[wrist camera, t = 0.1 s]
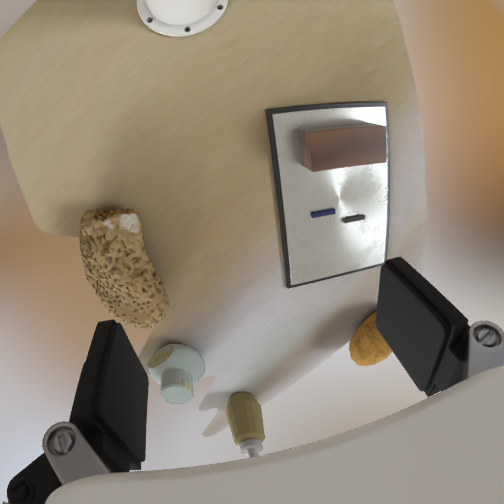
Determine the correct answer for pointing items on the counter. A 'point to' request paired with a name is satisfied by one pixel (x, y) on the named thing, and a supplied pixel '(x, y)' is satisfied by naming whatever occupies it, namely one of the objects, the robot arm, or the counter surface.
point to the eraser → (342, 146)
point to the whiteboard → (328, 197)
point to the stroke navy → (323, 213)
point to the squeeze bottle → (246, 423)
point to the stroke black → (354, 218)
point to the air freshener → (176, 371)
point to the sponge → (121, 267)
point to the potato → (368, 344)
